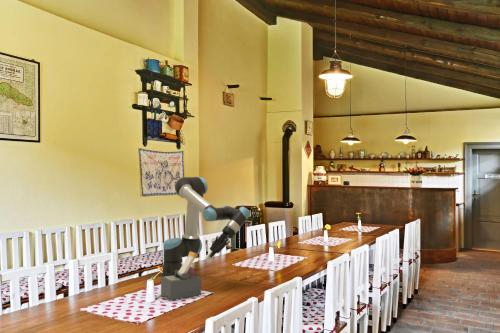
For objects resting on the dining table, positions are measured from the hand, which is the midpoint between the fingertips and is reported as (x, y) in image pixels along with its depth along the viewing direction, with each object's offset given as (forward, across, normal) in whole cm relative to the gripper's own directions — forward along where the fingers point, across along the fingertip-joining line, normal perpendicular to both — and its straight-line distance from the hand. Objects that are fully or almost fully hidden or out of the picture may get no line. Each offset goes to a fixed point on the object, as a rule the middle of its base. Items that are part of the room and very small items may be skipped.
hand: (205, 261), depth 254 cm
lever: (+15, +1, +7) cm, 16 cm away
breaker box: (+23, +1, -2) cm, 23 cm away
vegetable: (+13, +18, -12) cm, 25 cm away
